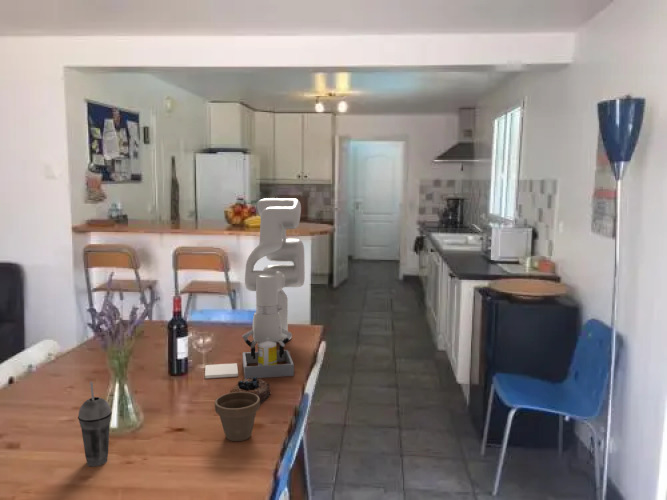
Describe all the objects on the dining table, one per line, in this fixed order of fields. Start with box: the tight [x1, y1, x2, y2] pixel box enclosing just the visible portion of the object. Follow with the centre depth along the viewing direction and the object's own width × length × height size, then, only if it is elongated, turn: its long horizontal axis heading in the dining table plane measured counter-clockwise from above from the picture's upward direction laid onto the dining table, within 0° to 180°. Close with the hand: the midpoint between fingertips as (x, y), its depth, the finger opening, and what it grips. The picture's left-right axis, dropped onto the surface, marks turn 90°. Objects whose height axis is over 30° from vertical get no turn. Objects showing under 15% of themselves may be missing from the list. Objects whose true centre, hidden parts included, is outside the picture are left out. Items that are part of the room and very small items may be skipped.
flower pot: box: [214, 392, 261, 442], centre depth 143 cm, size 12×11×10 cm
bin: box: [242, 349, 295, 380], centre depth 196 cm, size 17×17×4 cm
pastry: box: [229, 377, 272, 405], centre depth 170 cm, size 11×12×6 cm
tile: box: [204, 362, 239, 379], centre depth 193 cm, size 11×11×1 cm
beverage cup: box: [77, 381, 113, 468], centre depth 129 cm, size 7×7×20 cm
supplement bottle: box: [257, 337, 278, 366], centre depth 195 cm, size 7×7×13 cm
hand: (267, 357), depth 195 cm, fingers open, 9 cm apart
